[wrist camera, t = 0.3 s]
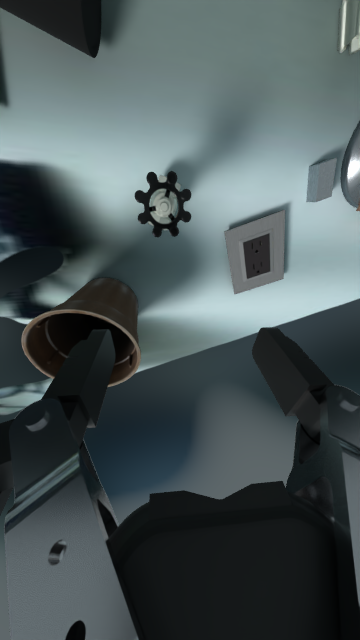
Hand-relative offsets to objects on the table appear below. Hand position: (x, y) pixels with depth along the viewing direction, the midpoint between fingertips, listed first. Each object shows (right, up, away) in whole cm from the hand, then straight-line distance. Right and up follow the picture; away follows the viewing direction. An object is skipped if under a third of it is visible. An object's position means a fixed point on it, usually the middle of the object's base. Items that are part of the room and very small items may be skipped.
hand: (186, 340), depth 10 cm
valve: (-3, +21, +20) cm, 29 cm away
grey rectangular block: (+22, +24, +20) cm, 39 cm away
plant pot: (-16, +5, +30) cm, 34 cm away
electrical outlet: (+14, +15, +27) cm, 34 cm away
